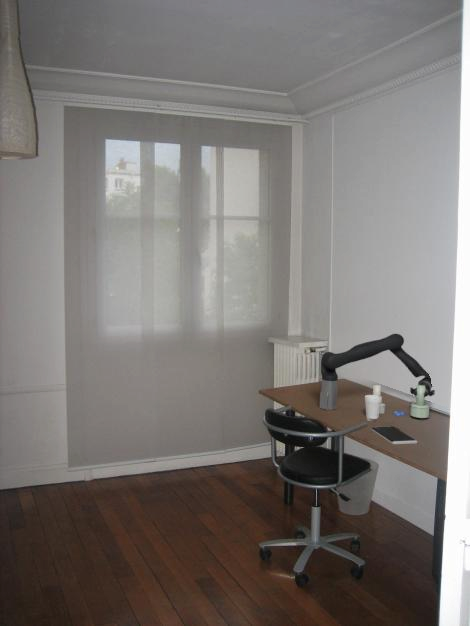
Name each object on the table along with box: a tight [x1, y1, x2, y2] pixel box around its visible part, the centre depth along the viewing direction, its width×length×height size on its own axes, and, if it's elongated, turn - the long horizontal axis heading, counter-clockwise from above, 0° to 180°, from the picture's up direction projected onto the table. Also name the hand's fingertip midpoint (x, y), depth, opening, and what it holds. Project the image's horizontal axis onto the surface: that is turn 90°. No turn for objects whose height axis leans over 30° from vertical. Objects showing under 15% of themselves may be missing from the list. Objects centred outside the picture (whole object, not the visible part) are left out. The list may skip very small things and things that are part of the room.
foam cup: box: [364, 394, 383, 422], centre depth 362 cm, size 10×9×13 cm
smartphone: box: [370, 426, 418, 445], centre depth 333 cm, size 13×27×2 cm, turn 13°
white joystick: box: [372, 383, 386, 415], centre depth 374 cm, size 10×10×17 cm
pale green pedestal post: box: [409, 384, 430, 419], centre depth 363 cm, size 10×10×17 cm
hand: (420, 394), depth 360 cm, fingers closed on pale green pedestal post, 4 cm apart
